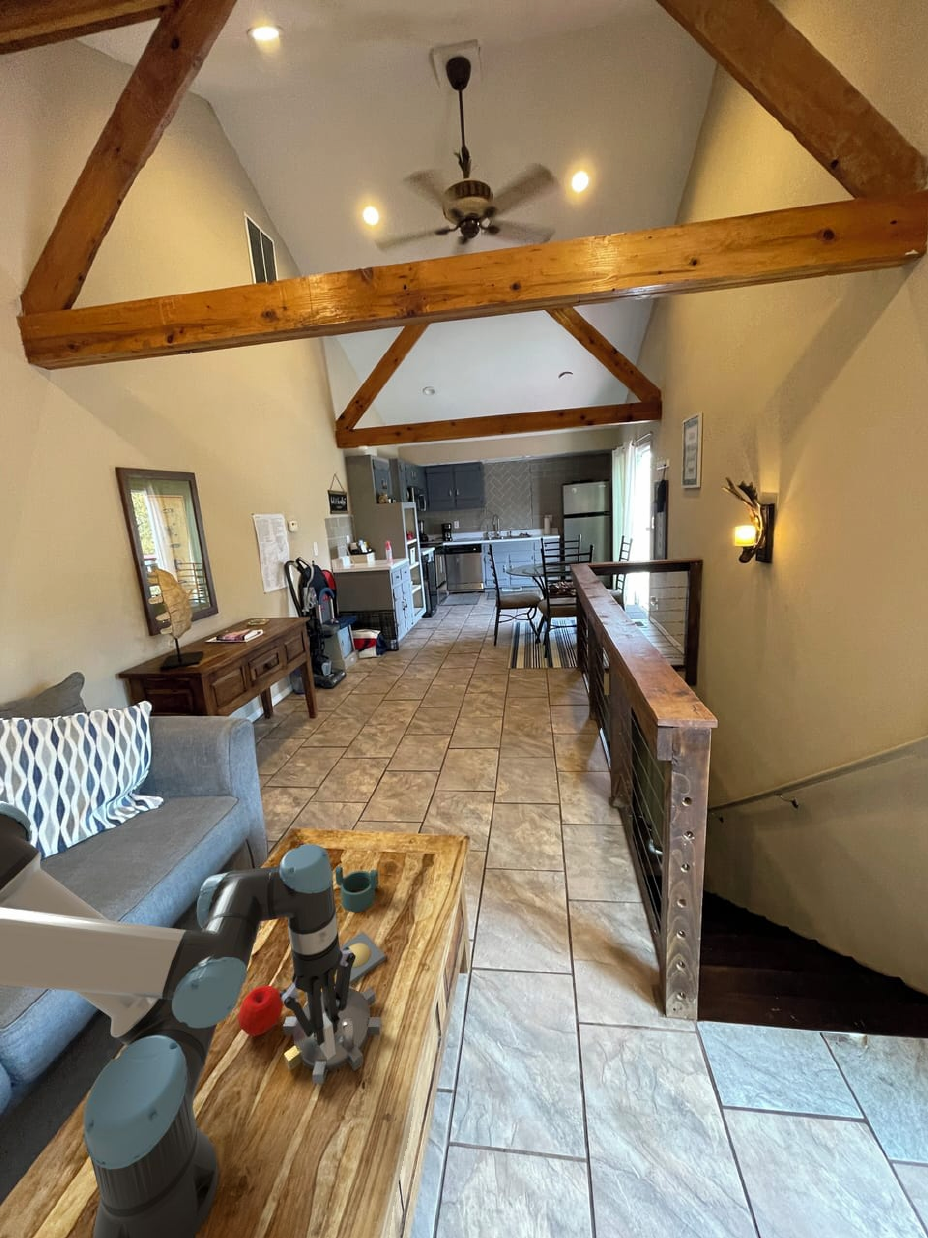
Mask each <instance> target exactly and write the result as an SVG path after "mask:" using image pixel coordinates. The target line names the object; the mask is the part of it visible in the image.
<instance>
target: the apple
mask: <svg viewBox="0 0 928 1238" xmlns="http://www.w3.org/2000/svg"><path fill="white" fill-rule="evenodd" d="M280 993H281V991H280V990H278V989H277V988H276V987H274V986H272V985H261V986H259V987H256V988H254V989H252V990H251V991H250V992H249V993H247V995H246V996H245V998H244V999H243V1001H242V1004H241V1005H240V1009H239V1011H238V1012H239V1013H238V1015H237V1016H238V1017H237V1021H238V1025H239V1027H240V1030H242V1031H243V1032H244V1033H245V1034H247V1035H249V1036H260V1035H262V1034H264V1033H266V1032H268V1031H270V1030H271V1029H272V1028H273V1026H275V1025H276V1024H277V1022H278V1021H279V1019H280V1017H281V1016H282V1012H283V1007H284V1003H283V1001H282V1000H281V998H280V996H279V995H280Z"/></svg>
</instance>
